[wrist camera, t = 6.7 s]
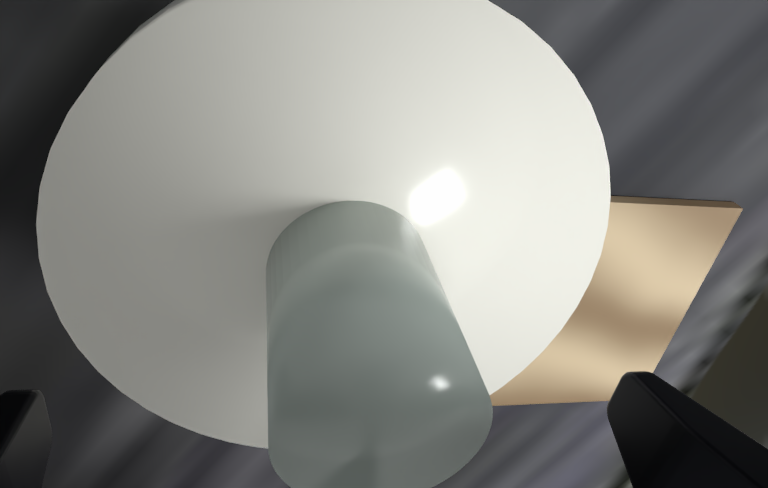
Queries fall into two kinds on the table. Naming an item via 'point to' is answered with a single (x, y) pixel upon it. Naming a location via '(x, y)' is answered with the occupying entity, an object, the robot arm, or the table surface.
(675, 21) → the table surface
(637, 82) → the table surface
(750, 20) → the table surface
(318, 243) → the lid
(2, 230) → the table surface
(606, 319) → the mat
